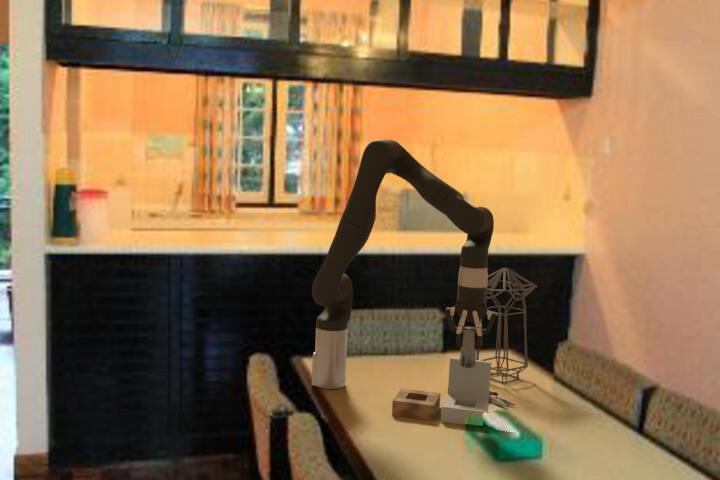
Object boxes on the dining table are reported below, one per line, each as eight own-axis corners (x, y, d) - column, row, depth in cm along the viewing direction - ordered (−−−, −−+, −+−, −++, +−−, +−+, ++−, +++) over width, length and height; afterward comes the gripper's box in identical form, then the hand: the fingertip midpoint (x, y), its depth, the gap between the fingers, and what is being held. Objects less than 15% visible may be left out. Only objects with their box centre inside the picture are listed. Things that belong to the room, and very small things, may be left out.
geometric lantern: (503, 388, 230) (508, 273, 227) (465, 376, 242) (469, 266, 239) (537, 380, 240) (541, 269, 236) (498, 368, 252) (502, 263, 249)
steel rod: (458, 366, 200) (461, 329, 199) (460, 362, 204) (463, 326, 203) (474, 368, 199) (476, 330, 198) (475, 364, 203) (478, 327, 202)
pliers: (497, 413, 209) (498, 404, 209) (445, 393, 225) (445, 385, 224) (525, 407, 216) (525, 397, 216) (472, 387, 232) (473, 379, 231)
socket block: (391, 415, 203) (392, 400, 202) (400, 402, 213) (401, 388, 213) (433, 420, 200) (433, 405, 200) (439, 407, 211) (440, 393, 210)
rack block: (440, 421, 200) (443, 369, 198) (447, 406, 212) (450, 357, 210) (483, 427, 197) (486, 374, 195) (487, 411, 209) (491, 361, 207)
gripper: (443, 283, 198) (439, 348, 200) (499, 288, 194) (494, 354, 196) (447, 279, 205) (443, 342, 207) (501, 283, 201) (497, 347, 203)
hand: (468, 348), depth 201 cm, fingers closed on steel rod, 4 cm apart
